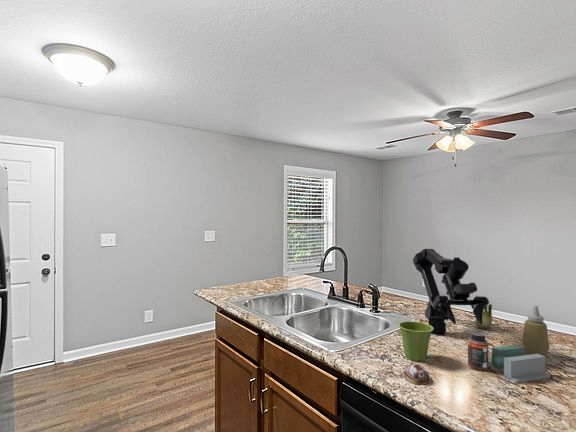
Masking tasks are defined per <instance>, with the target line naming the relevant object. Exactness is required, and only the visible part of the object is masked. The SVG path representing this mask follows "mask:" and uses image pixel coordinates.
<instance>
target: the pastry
mask: <svg viewBox="0 0 576 432" xmlns="http://www.w3.org/2000/svg"><path fill="white" fill-rule="evenodd" d="M403 375H404V379H405V380H406V381H407V382H408V383H411V384H413V385H418V386H419V385H420V386H421V385H423V386H424V385H428V384H430V383H431V377H430V374H429V373H428V371H427V370H426V369H424V368H423V367H422V366H421V364H419V363H415V364H412V366H411V365H410V366H407V367H406V368H405V369H404V373H403Z"/></svg>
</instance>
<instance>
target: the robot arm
mask: <svg viewBox="0 0 576 432" xmlns="http://www.w3.org/2000/svg"><path fill="white" fill-rule="evenodd" d="M412 263H413V265H414V267H415V270H417V271H418V272H419V273H421V277H422V280H423V283H424V287H425V290H426V294H427V296H428V303H427V304H426V306H427V307H426V309H425V311H424V316H425V318H426V319H427V320H428V323H427V324H428V325H430V326H432V327H433V331H432V332H431V335H436V336H441V337H442V336H443V337H444V336H445V334H446V333H447V322H446V321H450V322H451V323H452V324H453V325H456V324H457V320H456V317H455V315H454V312H453V309H452V308H451V307H452V306H470V307H471V309H473V310H472V313H473V315H474V316H475V320H476V319H477V321H478V322H479V324H480V325H482V311H483V310H484V309H485V307H486V306H487V307H488V306H489V304H490V301H489V299H488V297H487V296H483V295H482V296H481V295H479V296H478V295H476V296H475V297H474V298H473V299H469V298H470V296H471V294H473V293H476V292H477V291H478V287H477V285H476V282H469V283H462V282H461V281H460V280H462V279H463V278H464V276H465V275H466V273H467V272H468V270H469V268H470V267H469V264H468V263H467V262H466V261H465V260H462V259H461V258H460V257H455V256H454V257H453V259H451V258H447V257H444V256H442V255H441V254H440V253H438V252H437V251H436V250H435V249H434V248H423V249H422V250H421V251H419V252H418V253H416V254H415V255H414V257H413V258H412ZM433 265H434V270H435V271H436V272H437V273H438V274H439V275H441V274H443V275H442V277H441V283H442V284H444V287H445V289H446V293H445V295H441V294H440V291H439V289H438V285H437V282H436V280H435V276H434V274H433V271H432V268H433Z"/></svg>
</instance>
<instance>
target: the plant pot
mask: <svg viewBox="0 0 576 432" xmlns="http://www.w3.org/2000/svg"><path fill="white" fill-rule="evenodd" d="M428 324H429V323H424V322H420V321H412V320H411V321H410V320H409V321H408V320H407V321H400V322H398V325H397V326H398V327H399V330H400V334H401V339H402V346H403V353H404V356H405V357H406V358H407V359H408V360H411V361H414V362H416V361H417V362H419V361H422V362H423V361H426V360H427V359H428V357H427V356H428V352H429V351H428V350H429V345H430V339H431V336H432V334H431V332H432V331H433V327H432V326H430V325H428Z"/></svg>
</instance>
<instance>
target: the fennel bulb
mask: <svg viewBox="0 0 576 432" xmlns="http://www.w3.org/2000/svg"><path fill="white" fill-rule="evenodd" d="M492 308H493V304H491V303H489V304H488V305H487V306H486V307H485V309H484V310H483V311H482V325H480V324H479V322H478V321H477V319H476V318H475V325H476V327H477V328H479V329H480V330H484V331H485V330H486V331H487V330H490V329H491V327H492V323H493V315H492V314H493V313H492Z"/></svg>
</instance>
